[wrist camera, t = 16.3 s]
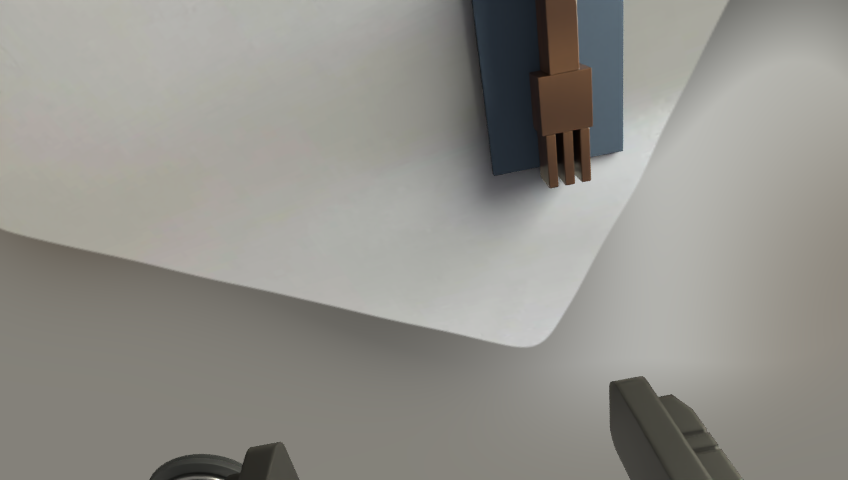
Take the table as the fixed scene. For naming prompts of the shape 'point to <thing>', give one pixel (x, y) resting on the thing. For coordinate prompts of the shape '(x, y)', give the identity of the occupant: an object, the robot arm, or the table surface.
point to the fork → (561, 96)
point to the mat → (519, 55)
